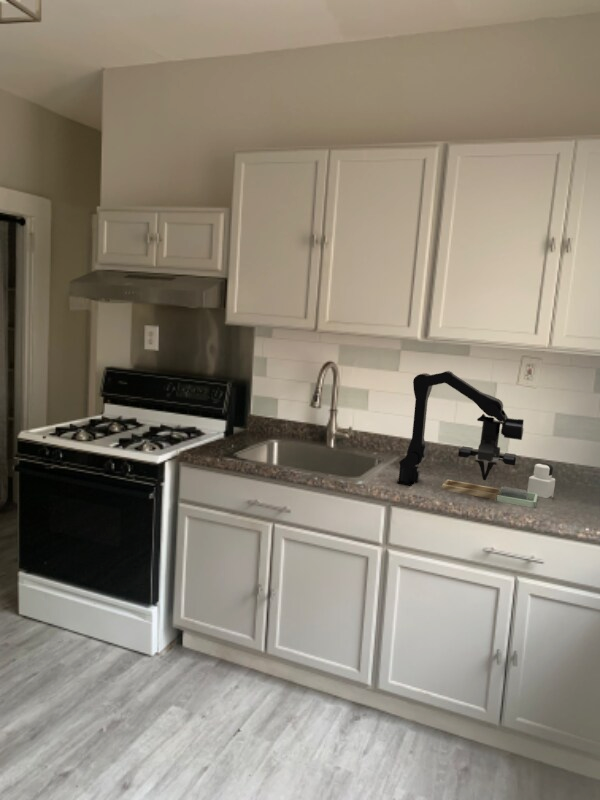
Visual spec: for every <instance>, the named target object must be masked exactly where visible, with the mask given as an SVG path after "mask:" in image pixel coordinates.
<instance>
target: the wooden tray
mask: <svg viewBox="0 0 600 800" xmlns="http://www.w3.org/2000/svg"><path fill="white" fill-rule="evenodd" d="M441 490H443V491H448V492H454V493H459V494H464V495H470V496H476V497H480V498H486V499H491V500H496V501H497V495H500V488H497V487H492V486H485V485H480V484H475V483H470V482H463V481H459V480H458V481H457V480H451V479H446V480H445V481H444V483H443V484H442V485H441Z"/></svg>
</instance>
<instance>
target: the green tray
mask: <svg viewBox="0 0 600 800" xmlns="http://www.w3.org/2000/svg"><path fill="white" fill-rule="evenodd" d="M502 488H503V487H501V488H500V493H501V492H502ZM538 497H539V496H538V494H535V493H529V492H528V493H527V500H523V499H517V498H512V497H506V496H501V494H498V495H497V498H496V501H497V502H500V503H506V504H512V505H518V506H522V507H528V508H532V509H533V508H534V509H535V508H536V506H537V502H538ZM529 499H530V500H529Z"/></svg>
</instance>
